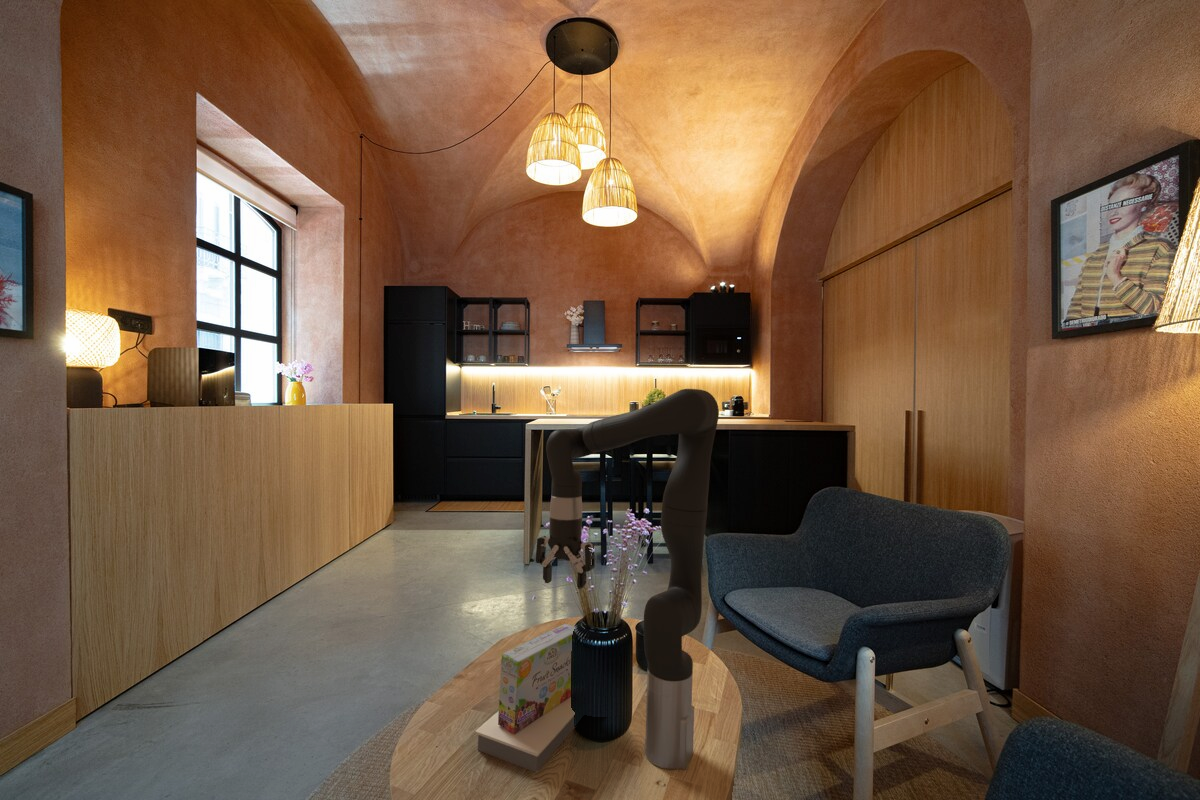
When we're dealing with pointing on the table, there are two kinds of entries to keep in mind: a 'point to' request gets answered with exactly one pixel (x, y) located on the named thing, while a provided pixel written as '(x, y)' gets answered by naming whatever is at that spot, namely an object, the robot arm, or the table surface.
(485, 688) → the table surface
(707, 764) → the table surface
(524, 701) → the snack box
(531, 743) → the display podium
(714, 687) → the table surface
